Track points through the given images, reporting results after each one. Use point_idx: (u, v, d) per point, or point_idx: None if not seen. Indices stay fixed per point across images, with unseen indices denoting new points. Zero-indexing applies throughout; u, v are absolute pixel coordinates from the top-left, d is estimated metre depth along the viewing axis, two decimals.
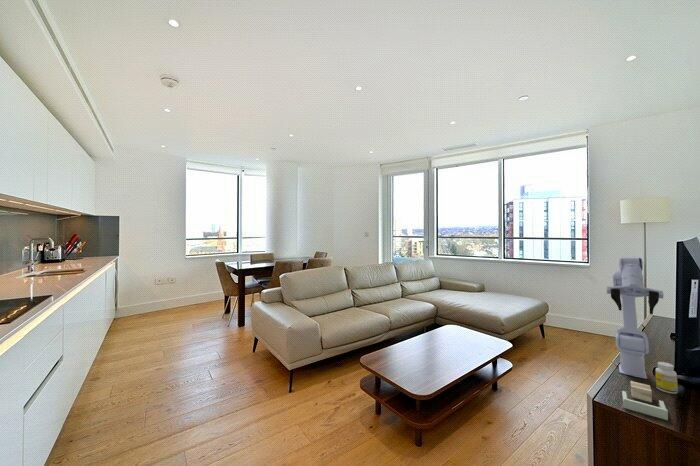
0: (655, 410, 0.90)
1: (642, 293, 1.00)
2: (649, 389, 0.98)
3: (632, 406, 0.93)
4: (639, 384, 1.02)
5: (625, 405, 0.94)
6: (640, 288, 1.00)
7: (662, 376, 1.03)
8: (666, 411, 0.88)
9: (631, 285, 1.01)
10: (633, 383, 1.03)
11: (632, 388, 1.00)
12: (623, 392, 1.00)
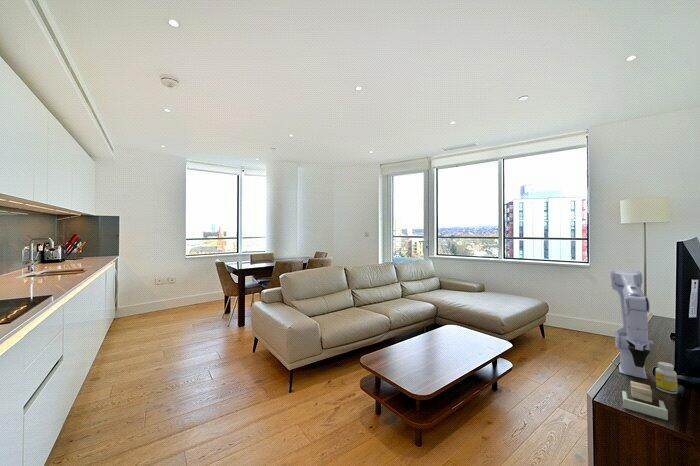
0: (655, 410, 0.90)
1: None
2: (649, 389, 0.98)
3: (632, 406, 0.93)
4: (639, 384, 1.02)
5: (625, 405, 0.94)
6: None
7: (662, 376, 1.03)
8: (666, 411, 0.88)
9: None
10: (633, 383, 1.03)
11: (632, 388, 1.00)
12: (623, 392, 1.00)
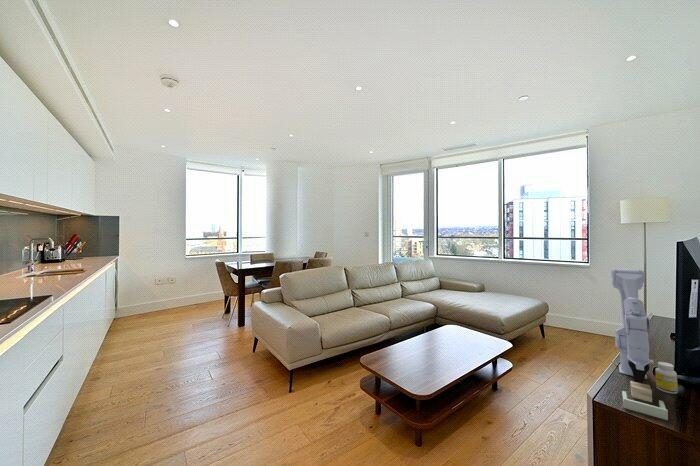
0: (655, 410, 0.90)
1: None
2: (649, 389, 0.98)
3: (632, 406, 0.93)
4: (639, 384, 1.02)
5: (625, 405, 0.94)
6: None
7: (662, 376, 1.03)
8: (666, 411, 0.88)
9: None
10: (633, 383, 1.03)
11: (632, 388, 1.00)
12: (623, 392, 1.00)
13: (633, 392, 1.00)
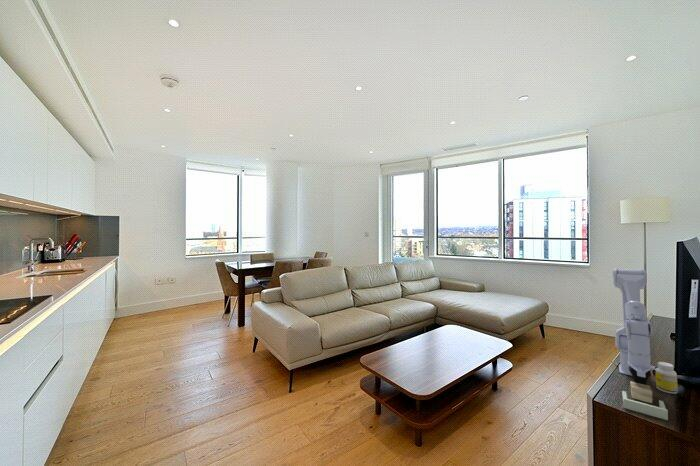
0: (655, 410, 0.90)
1: None
2: (649, 389, 0.98)
3: (632, 406, 0.93)
4: (639, 384, 1.01)
5: (625, 405, 0.94)
6: None
7: (662, 376, 1.03)
8: (666, 411, 0.88)
9: None
10: (633, 383, 1.02)
11: (632, 388, 1.00)
12: (623, 392, 1.00)
13: (633, 392, 1.00)
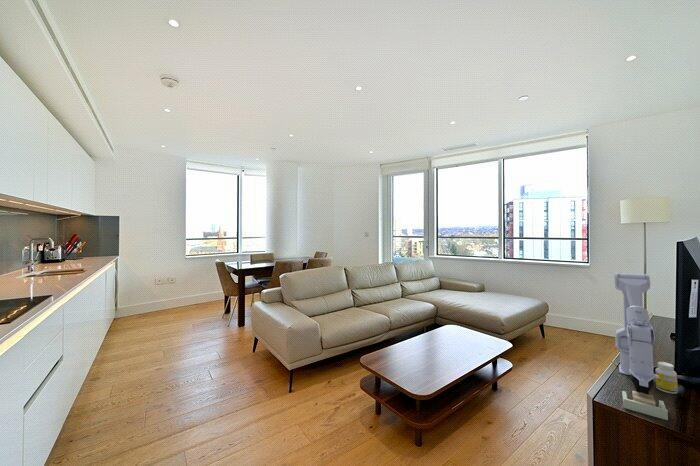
0: (655, 410, 0.90)
1: None
2: (653, 400, 0.92)
3: (632, 406, 0.93)
4: (642, 394, 0.95)
5: (625, 405, 0.94)
6: None
7: (662, 376, 1.03)
8: (666, 411, 0.88)
9: None
10: (635, 393, 0.96)
11: (634, 399, 0.94)
12: (623, 392, 1.00)
13: None
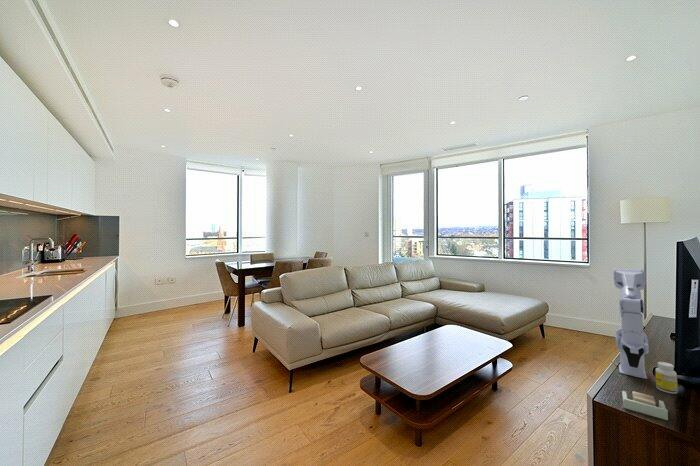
0: (655, 410, 0.90)
1: None
2: (653, 400, 0.92)
3: (632, 406, 0.93)
4: (642, 395, 0.95)
5: (625, 405, 0.94)
6: None
7: (662, 376, 1.03)
8: (666, 411, 0.88)
9: None
10: (635, 393, 0.96)
11: (634, 399, 0.94)
12: (623, 392, 1.00)
13: None
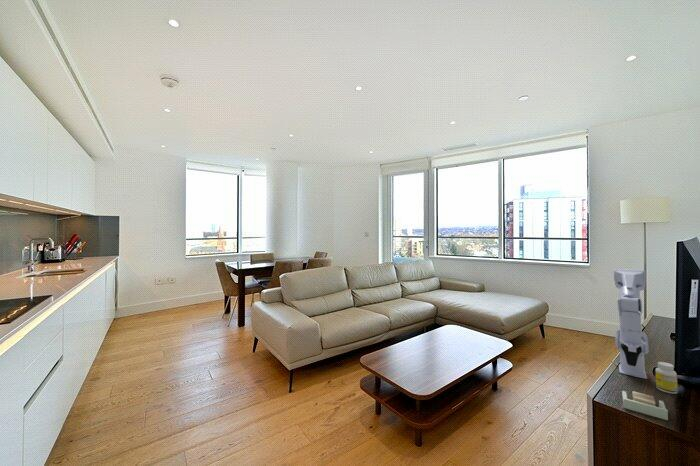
0: (655, 410, 0.90)
1: None
2: (653, 400, 0.92)
3: (632, 406, 0.93)
4: (642, 395, 0.95)
5: (625, 405, 0.94)
6: None
7: (662, 376, 1.03)
8: (666, 411, 0.88)
9: None
10: (635, 393, 0.96)
11: (634, 399, 0.94)
12: (623, 392, 1.00)
13: None
